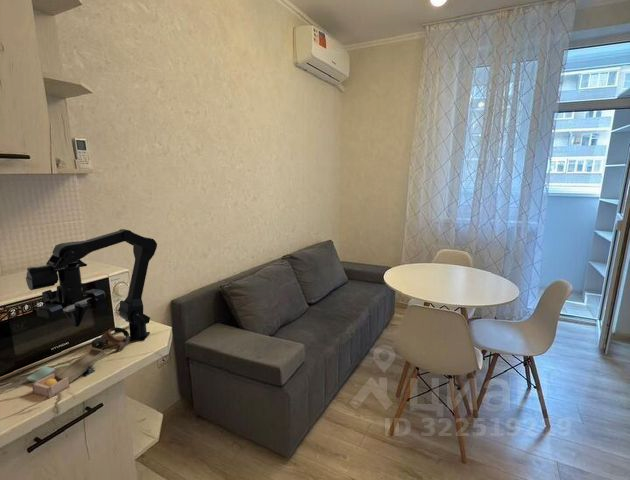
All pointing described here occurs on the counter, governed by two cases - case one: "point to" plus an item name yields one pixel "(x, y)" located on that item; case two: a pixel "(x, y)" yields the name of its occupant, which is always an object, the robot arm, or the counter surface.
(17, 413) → the counter surface
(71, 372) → the lever
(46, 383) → the ball
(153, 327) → the counter surface
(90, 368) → the fulcrum
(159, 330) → the counter surface
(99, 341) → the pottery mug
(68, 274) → the robot arm
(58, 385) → the dish
